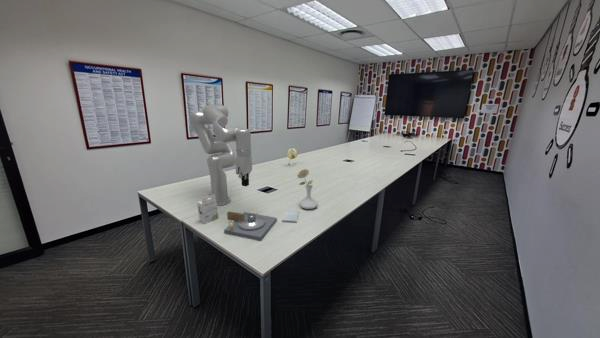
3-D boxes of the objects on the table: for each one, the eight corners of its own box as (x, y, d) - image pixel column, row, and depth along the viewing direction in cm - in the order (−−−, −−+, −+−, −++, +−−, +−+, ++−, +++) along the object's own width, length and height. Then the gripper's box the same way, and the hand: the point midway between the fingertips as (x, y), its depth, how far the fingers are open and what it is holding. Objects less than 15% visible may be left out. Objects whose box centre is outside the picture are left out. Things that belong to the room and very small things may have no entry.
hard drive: (296, 221, 127) (299, 211, 139) (281, 220, 128) (285, 210, 140) (296, 224, 127) (299, 213, 139) (281, 222, 128) (285, 212, 140)
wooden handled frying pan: (220, 225, 119) (220, 217, 118) (235, 213, 132) (235, 205, 131) (257, 232, 113) (257, 224, 112) (269, 219, 126) (269, 211, 125)
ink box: (213, 215, 133) (211, 191, 129) (218, 218, 130) (216, 193, 126) (199, 221, 127) (196, 196, 123) (203, 224, 124) (201, 198, 120)
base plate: (224, 233, 116) (223, 222, 114) (244, 215, 134) (244, 205, 132) (260, 240, 110) (260, 229, 109) (276, 221, 129) (276, 211, 127)
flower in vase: (314, 202, 153) (316, 165, 146) (319, 210, 143) (321, 171, 135) (295, 203, 151) (296, 166, 144) (298, 211, 140) (299, 172, 133)
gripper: (244, 149, 130) (246, 180, 135) (229, 155, 116) (231, 189, 121) (257, 150, 128) (258, 181, 133) (242, 156, 114) (244, 191, 119)
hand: (245, 185), depth 127 cm, fingers closed
